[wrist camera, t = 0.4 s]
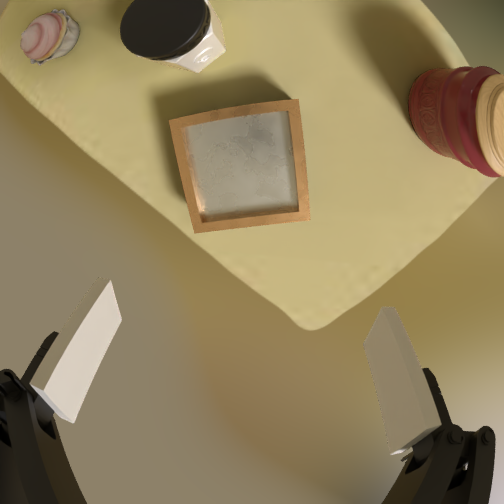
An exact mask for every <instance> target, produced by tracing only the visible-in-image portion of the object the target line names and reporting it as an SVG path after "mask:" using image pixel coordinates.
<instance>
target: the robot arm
mask: <svg viewBox="0 0 504 504" xmlns="http://www.w3.org/2000/svg"><path fill="white" fill-rule="evenodd" d="M121 321H122V318H121V315H120V312H119V309H118V305H117V301H116V298H115V294H114V291H113V287H112V282H111V280H110V279H104V278H98V279H97V280H96V281H95V283H94V284H93V285H92V287H91V288H90V289H89V291H88V292H87V293H86V295H85V296H84V297H83V299H82V300H81V302H80V303H79V304H78V306H77V308H76V309H75V310H74V312H73V313H72V315H71V316H70V318H69V319H68V321H67V322H66V324H65V325H64V327H63V328H62V330H61V331H60V333H57V332H55V331H54V332H53V333H51V334H50V335H49V336H48V337H47V338H46V339H45V340H44V342H43V343H42V345H41V346H40V347H41V348H40V349H39V350H38V351H37V353H36V355H35V356H34V358H33V359H32V361H31V363H30V365H29V366H28V368H27V370H26V371H25V373H24V375H23V377H22V378H21V380H19V378H18V377H17V376H16V374H15V373H14V372H13V371H12V370H10V369H4V370H2V371H0V504H87V502H86V501H85V499H84V496H83V494H82V492H81V490H80V488H79V486H78V483H77V481H76V479H75V477H74V474H73V472H72V469H71V467H70V464H69V462H68V459H67V456H66V454H65V451H64V448H63V445H62V442H61V439H60V436H59V432H58V429H57V426H56V422H55V419H54V417H53V414H54V412H56V413H57V415H59V416H60V417H61V418H63V419H65V420H67V421H69V422H71V423H74V422H75V419H76V417H77V415H78V412H79V409H80V407H81V405H82V403H83V400H84V398H85V396H86V393H87V391H88V389H89V386H90V384H91V382H92V380H93V378H94V375H95V373H96V371H97V369H98V367H99V365H100V362H101V360H102V358H103V356H104V354H105V352H106V350H107V348H108V346H109V344H110V342H111V340H112V338H113V336H114V334H115V332H116V330H117V329H118V326H119V325H120V323H121ZM363 346H364V349H365V352H366V356H367V359H368V363H369V366H370V370H371V374H372V377H373V380H374V385H375V388H376V393H377V396H378V401H379V405H380V409H381V413H382V418H383V422H384V426H385V431H386V436H387V441H388V446H389V451H390V455H392V454H397V453H400V452H405V451H406V450H408V449H409V448H410V447H412V448H413V452H411V453H409V454H408V455H406V456H405V457H403V459H402V460H401V461H404V460H406V459H407V461H406V462H405V465H404V467H403V469H402V471H401V473H400V474H399V476H398V478H397V480H396V482H395V483H394V485H393V487H392V488H391V490H390V491H389V493H388V495H387V496H386V498H385V499H384V501H383V502H382V504H488V503H489V498H490V492H491V485H492V479H493V470H494V459H495V434H494V431H493V430H492V429H491V428H490V427H488V426H483V427H482V428H480V429H479V430H478V431H476V432H471V431H470V432H469V431H463V430H462V428H460V427H459V426H458V425H455V424H453V423H452V422H451V419H450V416H449V413H448V410H447V407H446V404H445V402H444V399H443V396H442V395H441V391H440V388H439V387H438V383H437V381H436V378H435V376H434V375H433V373H432V372H431V371H430V370H429V368H423V369H422V368H421V365H420V363H419V360H418V358H417V355H416V353H415V351H414V348H413V346H412V344H411V341H410V339H409V337H408V335H407V332H406V330H405V328H404V326H403V324H402V321H401V319H400V317H399V315H398V313H397V311H396V309H395V307H382V308H381V310H380V312H379V314H378V316H377V318H376V320H375V322H374V324H373V326H372V328H371V330H370V332H369V334H368V336H367V338H366V340H365V341H364V343H363ZM467 464H468V466H467V470H465V466H466V465H467Z"/></svg>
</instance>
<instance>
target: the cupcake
mask: <svg viewBox="0 0 504 504" xmlns="http://www.w3.org/2000/svg"><path fill="white" fill-rule="evenodd" d="M79 32H80V30H79V26H78V24H77V23H76V22H75V21H74V20H72V19H71V18H70V16H68V15H67V13H66V11H65V10H60V11H58V10H56V9H54V10H53V11H52V12H51V13H46V14H43V15H41V16H39V17H37V18H36V19H34V20H33V21H32V22H31V23H30V24H29V26H28V27H27V29H26V30H25V31H24V32H23V33H22V34H21V35H22V39H21V49H22V50H23V51H24V53H25V55H26V56H27V57H28V58H30V59H31V64H33V63H36V62H37V63H38V65H41V64H43V63H45V62H46V61H48V60H51V59H54V58H57V57H61V56H64V55H65V54H67V53H68V52H69V51H70V50H71V49H72V48H73V47H74V45H75V44H76V42H77V40H78V37H79Z"/></svg>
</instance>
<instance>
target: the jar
mask: <svg viewBox="0 0 504 504" xmlns="http://www.w3.org/2000/svg"><path fill="white" fill-rule="evenodd" d="M120 35H121V39H122V42H123V44H124V45H125V47H126V48H127V49H128V50H129V51H130V52H132V53H134V54H135V55H136V56H137V57H141V58H144V59H147V60H150V61H154V62H157V63H160V64H163V65H166V66H169V67H174V68H179V69H183V70H187V71H191V72H195V73H199V72H200V71H201V70H203V69H204V68H205V67H206V66H208V65H209V64H210V63H211V62H213V61H214V60H215V59H216V58H218V57H219V56H220V55H222V54H223V53H224V52H226V46H225V40H224V35H223V29H222V24H221V21H220V19H219V17H218V16H217V14H216V12H215V10H214V9H213V7H212V5H211V4H210V2H209V0H134V1H133V2H132V3H131V5H130V6H129V7H128V9H127V10H126V12H125V14H124V16H123V18H122V21H121V26H120Z"/></svg>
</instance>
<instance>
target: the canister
mask: <svg viewBox="0 0 504 504" xmlns="http://www.w3.org/2000/svg"><path fill="white" fill-rule="evenodd" d="M408 108H409V115H410V119H411V123H412V125H413V128H414V130H415V132H416V133H417V135H418V137H419V138H420V139H421V140H422V142H423V143H424V144H426V145H427V146H428V147H429V148H430V149H431V150H433V151H434V152H436V153H438V154H440V155H442V156H445V157H450V158H453V159H455V160H457V161H460V162H461V163H463V164H464V165H465V166H467V167H470V168H473V169H477V170H478V171H479V172H480V173H482V174H483V175H485V176H488V177H500V176H504V75H502V74H500V73H499V72H497V71H496V70H494V69H492V68H490V67H486V66H479V67H475V68H473V67H467V66H464V67H459V68H454V69H445V68H437V69H431V70H428V71H426V72H425V73H423V74H421V75H420V76H419V77H418V78H417V79H416V80H415V81H414V83H413V85H412V87H411V90H410V93H409V100H408Z"/></svg>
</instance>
